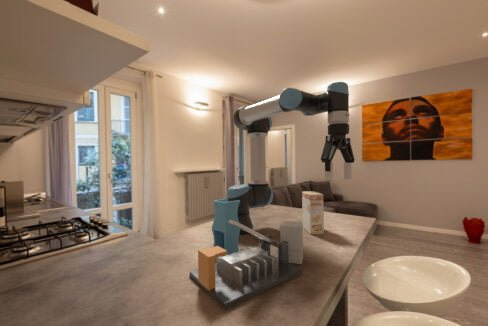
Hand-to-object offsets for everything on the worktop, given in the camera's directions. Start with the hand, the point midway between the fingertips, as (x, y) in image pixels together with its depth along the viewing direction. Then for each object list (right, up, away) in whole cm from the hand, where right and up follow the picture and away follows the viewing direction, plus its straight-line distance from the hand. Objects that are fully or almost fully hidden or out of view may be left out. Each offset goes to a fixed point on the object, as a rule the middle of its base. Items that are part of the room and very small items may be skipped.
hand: (338, 179), depth 84 cm
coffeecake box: (-1, -29, +30) cm, 42 cm away
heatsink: (-36, -28, -17) cm, 48 cm away
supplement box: (-19, -28, -5) cm, 34 cm away
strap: (-33, -17, -14) cm, 39 cm away
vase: (-43, -28, +1) cm, 52 cm away
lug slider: (-45, -26, -24) cm, 57 cm away
